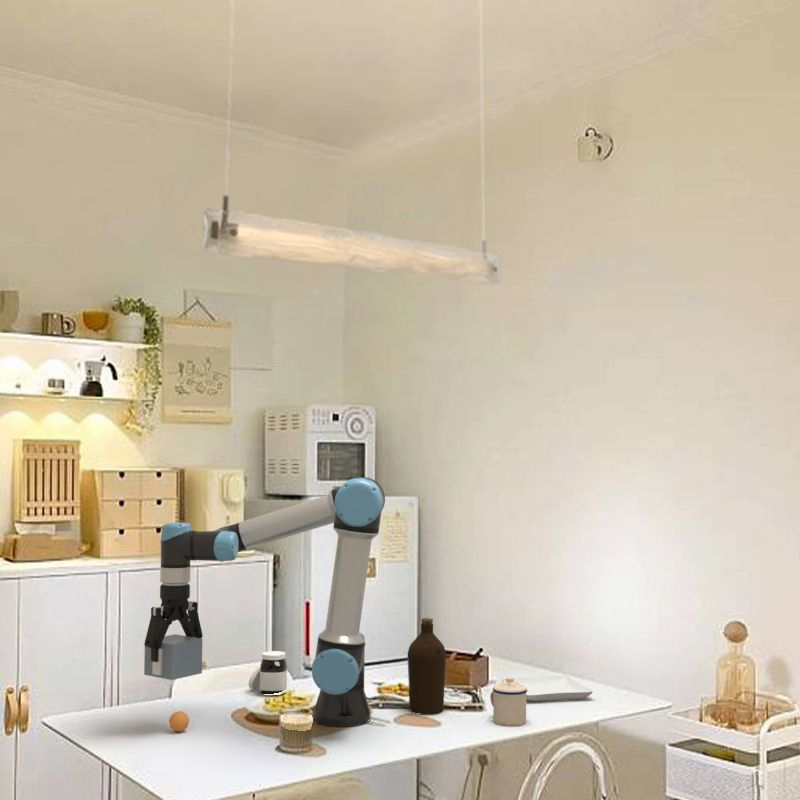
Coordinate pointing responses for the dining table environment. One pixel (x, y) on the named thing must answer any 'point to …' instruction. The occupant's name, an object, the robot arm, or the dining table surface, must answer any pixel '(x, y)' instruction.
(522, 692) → the teacup with lid
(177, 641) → the grey block
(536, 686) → the salad plate
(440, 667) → the olive oil
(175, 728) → the ball
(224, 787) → the dining table surface
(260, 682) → the spread jar
